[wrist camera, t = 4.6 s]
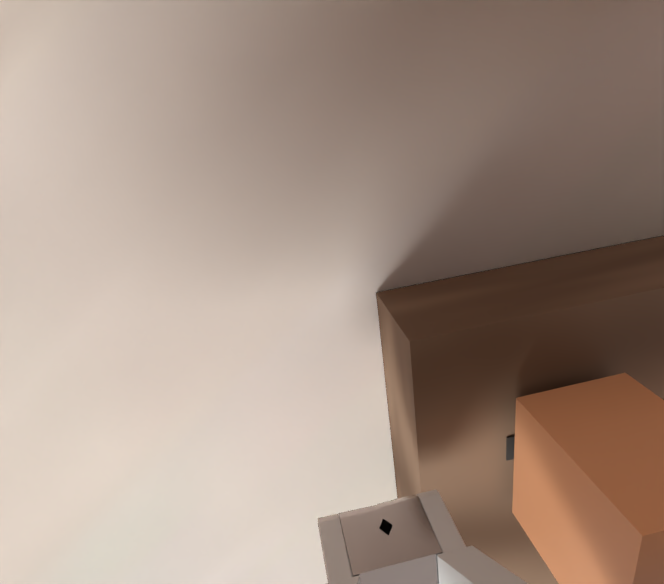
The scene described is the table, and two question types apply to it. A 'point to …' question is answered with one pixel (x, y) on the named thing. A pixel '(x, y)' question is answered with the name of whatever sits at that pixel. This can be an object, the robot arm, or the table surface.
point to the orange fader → (593, 480)
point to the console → (509, 373)
